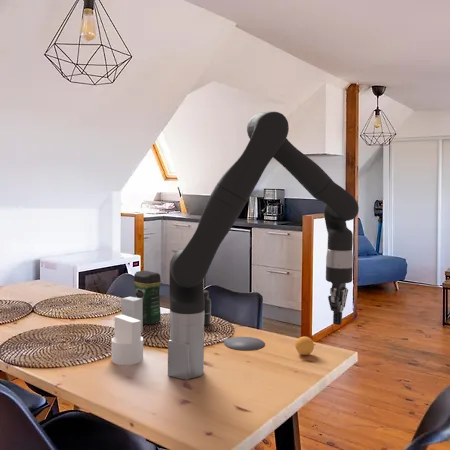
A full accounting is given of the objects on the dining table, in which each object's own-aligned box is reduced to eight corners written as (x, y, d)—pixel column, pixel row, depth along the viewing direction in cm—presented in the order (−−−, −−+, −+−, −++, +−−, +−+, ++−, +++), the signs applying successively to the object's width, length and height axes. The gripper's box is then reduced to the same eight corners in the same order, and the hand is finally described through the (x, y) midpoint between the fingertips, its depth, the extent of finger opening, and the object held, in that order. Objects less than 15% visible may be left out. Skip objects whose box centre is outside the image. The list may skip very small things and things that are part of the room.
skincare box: (143, 333, 170) (143, 298, 169) (134, 336, 167) (134, 301, 166) (129, 330, 174) (129, 296, 172) (120, 333, 170) (120, 298, 169)
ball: (310, 359, 149) (310, 340, 148) (292, 355, 152) (293, 337, 151) (316, 353, 154) (316, 335, 153) (298, 350, 156) (299, 333, 156)
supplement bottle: (208, 327, 179) (208, 293, 178) (189, 325, 180) (189, 292, 179) (212, 322, 186) (213, 289, 185) (194, 320, 187) (194, 288, 186)
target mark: (254, 353, 153) (254, 352, 153) (216, 345, 159) (216, 345, 159) (271, 341, 165) (271, 340, 165) (235, 335, 171) (235, 334, 171)
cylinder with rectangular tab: (149, 359, 146) (149, 318, 145) (123, 367, 140) (123, 324, 139) (130, 351, 152) (130, 312, 151) (105, 359, 146) (105, 318, 145)
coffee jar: (164, 322, 184) (164, 271, 183) (147, 326, 178) (148, 274, 177) (146, 317, 190) (146, 268, 189) (130, 321, 184) (130, 271, 183)
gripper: (346, 269, 138) (344, 331, 140) (357, 262, 150) (355, 320, 151) (319, 267, 142) (318, 327, 143) (332, 260, 153) (331, 316, 155)
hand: (337, 323), depth 147 cm, fingers closed
